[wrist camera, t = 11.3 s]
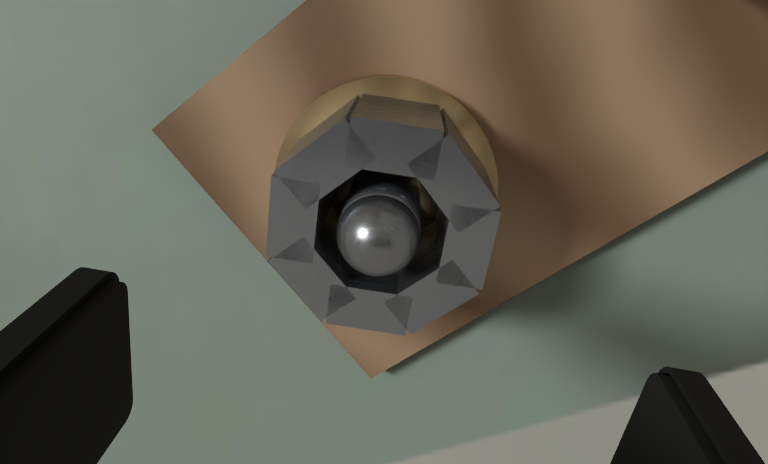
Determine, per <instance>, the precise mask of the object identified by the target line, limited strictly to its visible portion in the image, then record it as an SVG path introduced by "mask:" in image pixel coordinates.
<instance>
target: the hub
mask: <svg viewBox="0 0 768 464" xmlns="http://www.w3.org/2000/svg"><path fill="white" fill-rule="evenodd" d="M363 93H364V94H371V95H377V96H383V97H390V98H396V99H403V100H409V101H416V102H422V103H428V104H435V105H439V107H440V110H441V109H443V108H444V109H445V111H446V112H447V114H448V115H449V116H450V118H451V119H452V121H453V122H454V124H455V125H456V126H457V128H458V129H459V131H460V132H461V134H462V135H463V137H464V138H465V139H466V141H467V142H468V144H469V145H470V147H471V148H472V149H473V151H474V152H475V154H476V155H477V157H478V158H479V159H480V161H481V162H482V164H483V165H484V167H485V168H486V171H487V173H488V176H489V178H490V181H491V183H492V186H493V188H494V191H495V193H496V196H497V198H498V174H497V167H496V163H495V159H494V155H493V152H492V149H491V147H490V145H489V142H488V140H487V138H486V136H485V134H484V132H483V130H482V129H481V127H480V125H479V123H478V122H477V121H476V119H475V118H474V117H473V116H472V114H471V113H470V112H469V111H468V110H467V109H466V108H465V107H464V106H463V105H462V104H461V103H460V102H459V101H458V100H457V99H455V98H454V97H453V96H451V95H450V94H448V93H447V92H446V91H444V90H442V89H440V88H438V87H436V86H435V85H432V84H430V83H427V82H425V81H422V80H419V79H415V78H411V77H407V76H400V75H390V74H386V75H371V76H365V77H359V78H356V79H353V80H350V81H347V82H344V83H342V84H340V85H338V86H336V87H333V88H331V89H330V90H328V91H327V92H325V93H324V94H322V95H321V96H319V97H318V98H317V99H316V100H315V101H313V102H312V103H311V104H310V105H309V106H308V107H307V108H306V109H305V110H304V111H303V112H302V113H301V115H300V116H299V117H298V118H297V119H296V120H295V122H294V123H293V125H292V126H291V128H290V129H289V131H288V133H287V134H286V136H285V139H284V141H283V143H282V145H281V147H280V151H279V154H278V158H277V162H276V168H277V167H278V165H279V164H280V163H281V162H282V160H283V159H284V158H285V157H286V155H287V154H288V153H289V152H290V150H291V149H292V148H293V147H294V145H295V144H296V143H297V142H298V141H299V139H300V138H302V137H303V136H304V135H306V134H307V133H308V132H310V131H311V130H312V129H314V128H315V127H316V126H317V125H319V124H320V123H321V122H323V121H324V120H325V119H327V118H328V117H329V116H331V115H332V114H333V113H334V112H336V111H337V110H338V109H340V108H341V107H342V106H344V105H345V104H346V103H348V102H349V101H350V100H351V99H353V98H354V97H355V96H357V95H359V97H360V98H361V96H362V94H363ZM276 168H275V169H276ZM332 206H333V207H334V208H335V210H336V211H337V212H338V213H339V215H340V219H339V222H338V226H337V233H336V237H337V244H338V248H339V250H340V253H341V254H342V256H343V258H344V259H345V261H346V262H347V263H348V264H349V265H350V266H351V267H352V268H354V269H355V270H357V271H358V272H360V273H362V274H365V275H369V276H375V277H382V276H388V275H392V274H394V273H397V272H399V271H401V270H402V269H403V268H405V267H406V266H407V265H408V264H409V263H410V262H411V261H412V259H413V258H414V256H415V255H416V253H417V250H418V248H419V244H420V237H421V234H420V231H421V230H422V229H424V228H425V227H427V226H428V225H430V224H431V223H433V222H434V221H435V220H436V215H437V210H438V205H437V203H436V202H435V201H434V199H433V198H432V197H431V195H430V194H429V193H428V191H427V190H426V189H425V187H424V186H423V185H422V183H421V182H420V181H419V179H418V178H415V177H409V176H402V175H396V174H390V173H383V172H377V171H370V170H364V169H362V170H360V171H359V172H357V173H356V174H355V175H353V176H352V177H350V178H349V179H348V180H346V181H345V182H343V183H342V184H341V185H339V186H338V187H336V188H335V189H334V190H333V197H332Z"/></svg>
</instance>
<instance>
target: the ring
mask: <svg viewBox="0 0 768 464" xmlns="http://www.w3.org/2000/svg"><path fill="white" fill-rule="evenodd" d="M362 169H364V170H370V171H377V172H383V173H390V174H396V175H402V176H409V177H415V178H418V179H419V181H420V182H421V183H422V185H423V186H424V187H425V189H426V190H427V191H428V193H429V194H430V195H431V197H432V198H433V199H434V201H435V202H436V203H437V205H438V210H437V215H436V220H435V221H434V222H433V223H431V224H430V225H428V226H427V227H425V228H424V229H422V230H421V231H420V234H421V237H420V244H419V248H418V250H417V253H416V255H415V256H414V258H413V259H412V261H411V262H410V263H409V264H408V265H407V266H406V267H405V268H403V269H402V270H401V271H399V272H397V273H394V274H392V275H388V276H382V277H375V276H369V275H365V274H362V273H360V272H358V271H357V270H355V269H354V268H352V267H351V266H350V265H349V264H348V263H347V262H346V261H345V259H344V258H343V256H342V254H341V253H340V250H339V248H338V244H337V237H336V233H337V226H338V222H339V219H340V215H339V213H338V212H337V211H336V210H335V208H334V207H333V206H332V197H333V190H334V189H335V188H336V187H338V186H339V185H341V184H342V183H343V182H345V181H346V180H348V179H349V178H350V177H352V176H353V175H355V174H356V173H357V172H359V171H360V170H362ZM500 216H501V209H500V204H499V201H498V198H497V196H496V193H495V191H494V188H493V186H492V183H491V181H490V178H489V176H488V173H487V171H486V168H485V167H484V165H483V164H482V162H481V161H480V159H479V158H478V157H477V155H476V154H475V152H474V151H473V149H472V148H471V147H470V145H469V144H468V142H467V141H466V139H465V138H464V137H463V135H462V134H461V132H460V131H459V129H458V128H457V126H456V125H455V124H454V122H453V121H452V119H451V118H450V116H449V115H448V114H447V112H446V111H445V109H444V108H443V109H441V110H440V107H439V105H435V104H428V103H422V102H416V101H409V100H403V99H396V98H390V97H383V96H377V95H371V94H364V93H363V94H362V96H361V98H360V97H359V95H357V96H355V97H354V98H353V99H351V100H350V101H349V102H348V103H346V104H345V105H344V106H342V107H341V108H340V109H338V110H337V111H336V112H334V113H333V114H332V115H331V116H329V117H328V118H327V119H325V120H324V121H323V122H321V123H320V124H319V125H317V126H316V127H315V128H314V129H312V130H311V131H310V132H308V133H307V134H306V135H304V136H303V137H302V138H300V139H299V141H298V142H297V143H296V144H295V145H294V147H293V148H292V149H291V150H290V152H289V153H288V154H287V155H286V157H285V158H284V159H283V160H282V162H281V163H280V164H279V165H278V167H277V168H276V169H275V170H274V173H273V174H272V176H271V185H270V200H269V215H268V230H267V245H266V257H270V258H269V260H268V262H269V264H270V265H271V266H272V267H273V268H274V269H275V270H276V271H277V273H278V274H279V275H280V276H281V277H282V278H283V279H284V280H285V281H286V283H287V284H288V285H289V286H290V287H291V288H292V289H293V290H294V292H295V293H296V294H297V295H298V296H299V297H300V298H301V299H302V300H303V302H304V303H305V304H306V305H307V306H308V307H309V308H310V309H311V311H312V312H313V313H314V314H315V315H316V316H317V317H318V318H319V319H320V321H321V320H323V319H325V318H326V324H332V325H339V326H346V327H352V328H359V329H365V330H372V331H378V332H385V333H391V334H398V335H404V336H405V335H406V330H407V331H408V332H409V333H410V334H413V333H414V332H416V331H418V330H420V329H421V328H423V327H425V326H426V325H428V324H430V323H431V322H433V321H435V320H436V319H438V318H440V317H441V316H443V315H445V314H446V313H448V312H450V311H451V310H453V309H455V308H457V307H458V306H460V305H462V304H463V303H465V302H467V301H468V300H470V299H472V298H473V297H475V296H477V295H478V294H479V291H478V289H481V290H483V286H484V282H485V277H486V273H487V269H488V265H489V261H490V257H491V253H492V249H493V245H494V241H495V237H496V233H497V229H498V224H499V220H500Z"/></svg>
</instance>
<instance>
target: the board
mask: <svg viewBox="0 0 768 464" xmlns="http://www.w3.org/2000/svg"><path fill="white" fill-rule="evenodd" d="M386 74H390V75H400V76H407V77H411V78H415V79H419V80H422V81H425V82H427V83H430V84H432V85H435V86H436V87H438V88H440V89H442V90H444V91H446V92H447V93H448V94H450V95H451V96H453V97H454V98H455V99H457V100H458V101H459V102H460V103H461V104H462V105H463V106H464V107H465V108H466V109H467V110H468V111H469V112H470V113H471V114H472V116H473V117H474V118H475V119H476V121H477V122H478V123H479V125H480V127H481V129H482V130H483V132H484V134H485V136H486V138H487V140H488V142H489V145H490V147H491V149H492V152H493V155H494V159H495V163H496V167H497V174H498V201H499V204H500V209H501V216H500V220H499V224H498V229H497V233H496V237H495V241H494V245H493V249H492V253H491V257H490V261H489V265H488V269H487V273H486V277H485V282H484V286H483V290H481V289H478V291H479V294H478V295H477V296H475V297H473V298H472V299H470V300H468V301H467V302H465V303H463V304H462V305H460V306H458V307H457V308H455V309H453V310H451V311H450V312H448V313H446V314H445V315H443V316H441V317H440V318H438V319H436V320H435V321H433V322H431V323H430V324H428V325H426V326H425V327H423V328H421V329H420V330H418V331H416V332H414V333H413V334H410V333H409V332H408V331H407V330H406V335H405V336H404V335H398V334H391V333H385V332H378V331H372V330H365V329H359V328H352V327H346V326H339V325H332V324H326V318H325V319H323V320H321V322H322V324H323V325H324V326H325V327H326V328H327V329H328V330H329V332H330V333H331V334H332V335H333V336H334V337H335V338H336V339H337V341H338V342H339V343H340V344H341V345H342V346H343V347H344V349H345V350H346V351H347V352H348V353H349V354H350V355H351V356H352V358H353V359H354V360H355V361H356V362H357V363H358V364H359V366H360V367H361V368H362V369H363V370H364V371H365V372H366V373H367V375H368V376H369V377H370V378H373V377H374V376H376V375H378V374H380V373H381V372H383V371H385V370H387V369H388V368H390V367H392V366H394V365H395V364H397V363H399V362H401V361H402V360H404V359H406V358H408V357H409V356H411V355H413V354H415V353H416V352H418V351H420V350H422V349H423V348H425V347H427V346H429V345H430V344H432V343H434V342H436V341H437V340H439V339H441V338H442V337H444V336H446V335H448V334H449V333H451V332H453V331H455V330H456V329H458V328H460V327H462V326H463V325H465V324H467V323H469V322H470V321H472V320H474V319H476V318H477V317H479V316H481V315H483V314H484V313H486V312H488V311H490V310H491V309H493V308H495V307H497V306H498V305H500V304H502V303H504V302H505V301H507V300H509V299H511V298H512V297H514V296H516V295H518V294H519V293H521V292H523V291H525V290H526V289H528V288H530V287H532V286H533V285H535V284H537V283H539V282H540V281H542V280H544V279H546V278H547V277H549V276H551V275H553V274H554V273H556V272H558V271H560V270H561V269H563V268H565V267H567V266H568V265H570V264H572V263H574V262H575V261H577V260H579V259H581V258H582V257H584V256H586V255H588V254H589V253H591V252H593V251H595V250H596V249H598V248H600V247H602V246H603V245H605V244H607V243H609V242H610V241H612V240H614V239H616V238H617V237H619V236H621V235H623V234H624V233H626V232H628V231H630V230H631V229H633V228H635V227H636V226H638V225H640V224H642V223H643V222H645V221H647V220H649V219H650V218H652V217H654V216H656V215H657V214H659V213H661V212H663V211H664V210H666V209H668V208H670V207H671V206H673V205H675V204H677V203H678V202H680V201H682V200H684V199H685V198H687V197H689V196H691V195H692V194H694V193H696V192H698V191H699V190H701V189H703V188H705V187H706V186H708V185H710V184H712V183H713V182H715V181H717V180H719V179H720V178H722V177H724V176H726V175H727V174H729V173H731V172H733V171H734V170H736V169H738V168H740V167H741V166H743V165H745V164H747V163H748V162H750V161H752V160H754V159H755V158H757V157H759V156H761V155H762V154H764V153H766V152H768V0H306V1H305V2H304V3H303V4H301V5H300V6H299V7H298V8H297V9H295V10H294V11H293V12H292V13H291V14H289V15H288V16H287V17H286V18H285V19H283V20H282V21H281V22H280V23H279V24H277V25H276V26H275V27H274V28H273V29H271V30H270V31H269V32H268V33H267V34H266V35H264V36H263V37H262V38H261V39H260V40H258V41H257V42H256V43H255V44H254V45H252V46H251V47H250V48H249V49H248V50H246V51H245V52H244V53H243V54H242V55H240V56H239V57H238V58H237V59H236V60H234V61H233V62H232V63H231V64H230V65H228V66H227V67H226V68H225V69H224V70H222V71H221V72H220V73H219V74H218V75H216V76H215V77H214V78H213V79H212V80H211V81H209V82H208V83H207V84H206V85H205V86H203V87H202V88H201V89H200V90H199V91H197V92H196V93H195V94H194V95H193V96H191V97H190V98H189V99H188V100H187V101H185V102H184V103H183V104H182V105H181V106H179V107H178V108H177V109H176V110H175V111H173V112H172V113H171V114H170V115H169V116H167V117H166V118H165V119H164V120H163V121H161V122H160V123H159V124H158V125H157V126H156V127H154V128H153V129H152V131H153V132H154V133H155V134H156V135H157V136H158V138H159V139H160V140H161V141H162V142H163V143H164V144H165V146H166V147H167V148H168V149H169V150H170V151H171V152H172V153H173V155H174V156H175V157H176V158H177V159H178V160H179V161H180V163H181V164H182V165H183V166H184V167H185V168H186V169H187V170H188V172H189V173H190V174H191V175H192V176H193V177H194V178H195V180H196V181H197V182H198V183H199V184H200V185H201V186H202V188H203V189H204V190H205V191H206V192H207V193H208V194H209V195H210V197H211V198H212V199H213V200H214V201H215V202H216V203H217V205H218V206H219V207H220V208H221V209H222V210H223V211H224V212H225V214H226V215H227V216H228V217H229V218H230V219H231V220H232V222H233V223H234V224H235V225H236V226H237V227H238V228H239V229H240V231H241V232H242V233H243V234H244V235H245V236H246V237H247V239H248V240H249V241H250V242H251V243H252V244H253V245H254V246H255V248H256V249H257V250H258V251H259V252H260V253H261V254H262V256H263V257H264V258H265V259H266V260H267V261H268V260H269V258H270V257H266V245H267V230H268V215H269V200H270V185H271V176H272V174H273V173H274V170H275V168H276V162H277V158H278V154H279V151H280V147H281V145H282V143H283V141H284V139H285V136H286V134H287V133H288V131H289V129H290V128H291V126H292V125H293V123H294V122H295V120H296V119H297V118H298V117H299V116H300V115H301V113H302V112H303V111H304V110H305V109H306V108H307V107H308V106H309V105H310V104H311V103H312V102H313V101H315V100H316V99H317V98H318V97H319V96H321V95H322V94H324V93H325V92H327V91H328V90H330V89H331V88H333V87H336V86H338V85H340V84H342V83H344V82H347V81H350V80H353V79H356V78H359V77H365V76H371V75H386ZM285 282H286V281H285ZM292 290H293V289H292ZM293 291H294V290H293ZM300 299H301V298H300ZM301 300H302V299H301ZM302 301H303V300H302ZM307 307H308V306H307ZM308 308H309V307H308ZM309 309H310V308H309ZM310 310H311V309H310ZM315 316H316V315H315ZM316 317H317V316H316ZM317 318H318V317H317ZM318 319H319V318H318ZM319 320H320V319H319Z"/></svg>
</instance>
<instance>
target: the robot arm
mask: <svg viewBox="0 0 768 464" xmlns="http://www.w3.org/2000/svg"><path fill="white" fill-rule="evenodd" d="M132 404H133V392H132V371H131V351H130V330H129V310H128V291H127V286H126V284H125V283H123V282H119V278H118V276H117V274H115V273H114V272H108V271H102V270H97V269H91V268H85V267H81V268H78V269H77V270H75V271H74V272H73V273H71V274H70V275H69V276H68V277H66V278H65V279H64V280H63V281H62V282H60V283H59V284H58V285H57V286H55V287H54V288H53V289H52V290H50V291H49V292H48V293H47V294H46V295H44V296H43V297H42V298H41V299H39V300H38V301H37V302H36V303H34V304H33V305H32V306H31V307H30V308H28V309H27V310H26V311H25V312H23V313H22V314H21V315H20V316H18V317H17V318H16V319H15V320H14V321H12V322H11V323H10V324H9V325H7V326H6V327H5V328H4V329H2V330H1V331H0V464H97V463H98V461H99V460H100V458H101V457H102V455H103V454H104V453H105V451H106V450H107V448H108V447H109V445H110V444H111V442H112V441H113V440H114V438H115V437H116V435H117V434H118V432H119V431H120V429H121V428H122V427H123V425H124V424H125V422H126V420H127V419H128V417H129V414H130V412H131V408H132ZM610 464H765V463H764V462H763V460H762V459H761V457H760V456H759V455H758V453H757V451H756V450H755V449H754V447H753V446H752V444H751V443H750V441H749V440H748V438H747V437H746V436H745V434H744V433H743V431H742V430H741V428H740V427H739V426H738V424H737V423H736V421H735V420H734V418H733V417H732V415H731V414H730V412H729V411H728V410H727V408H726V407H725V405H724V404H723V402H722V401H721V399H720V398H719V397H718V395H717V394H716V392H715V391H714V389H713V388H712V386H711V385H710V384H709V382H708V381H707V379H706V378H705V377H704V376H703V375H702V374H701V373H699V372H694V371H689V370H683V369H677V368H671V367H664V368H662V369H661V370H660V371H659V373H658V374H657V373H653V374H651V375H650V376H649V377H648V379H647V381H646V383H645V386H644V388H643V390H642V392H641V395H640V397H639V399H638V402H637V404H636V406H635V408H634V411H633V413H632V415H631V418H630V420H629V422H628V425H627V427H626V429H625V431H624V434H623V436H622V438H621V440H620V443H619V445H618V447H617V450H616V452H615V454H614V456H613V459H612V461H611V463H610Z"/></svg>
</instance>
